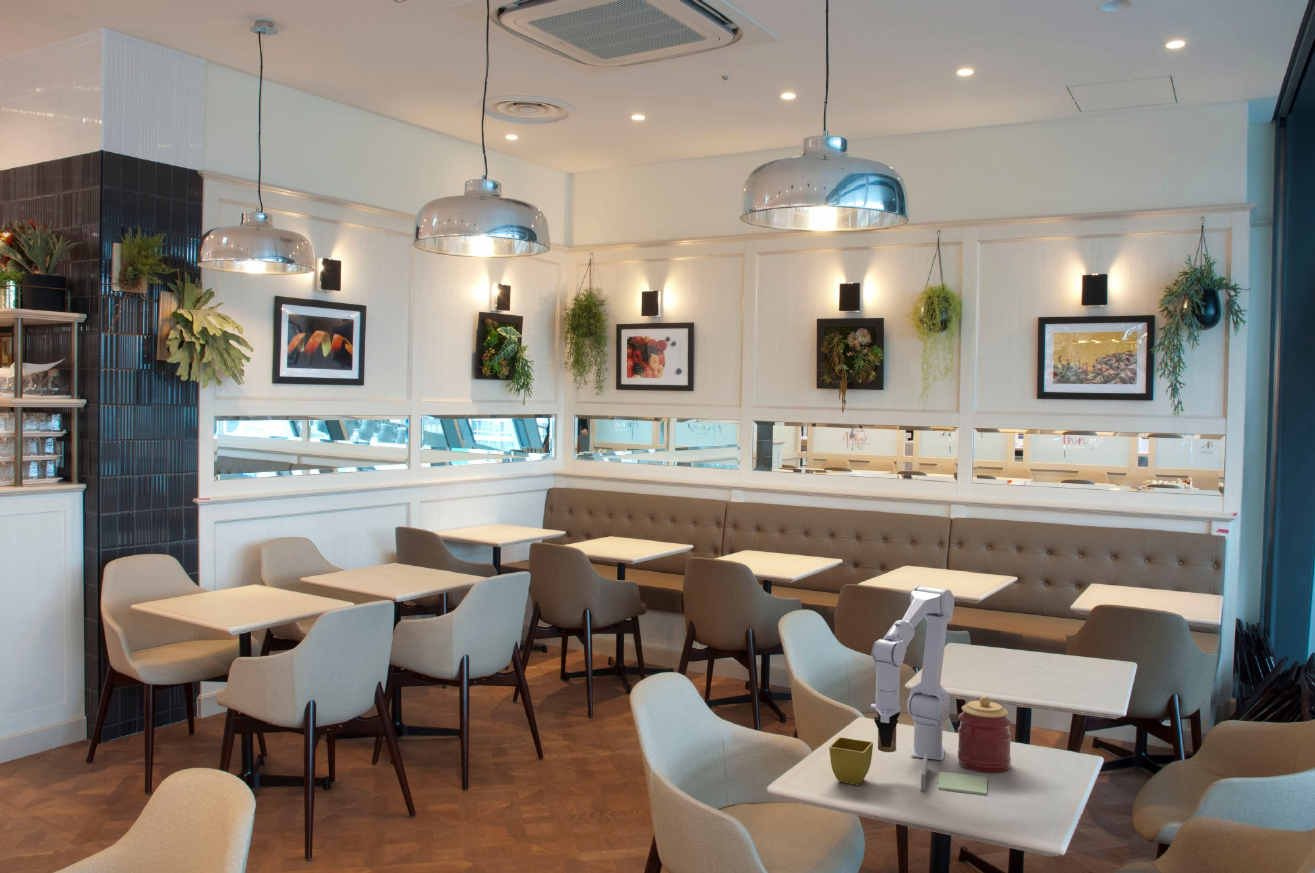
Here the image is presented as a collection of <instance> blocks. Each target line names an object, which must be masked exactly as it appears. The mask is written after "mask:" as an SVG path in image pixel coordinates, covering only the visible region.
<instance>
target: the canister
mask: <svg viewBox="0 0 1315 873" xmlns="http://www.w3.org/2000/svg"><path fill="white" fill-rule="evenodd" d="M961 710H962V712H961V713H959V714H958V715H957V716H958V717H957V719H958V720H959V721H960V723H959V727H958V728H957V731H958V749H957V758H958V763H959V764H960V765H961V766H963V767H964V768H966V769H969V770H972V771H976V772H980V773H989V774H994V773H996V774H997V773H1003V772H1007V771H1008V770H1010V767H1011V764H1012V762H1011V761H1012V757H1011V738H1012V733H1011V731H1010V726H1011V724H1012V720H1011V719H1010V717H1008V714H1009V711H1008V710H1007V709H1006V708H1004V707H1003V706H1002V705H1001V704H999V703H996V702H993V701H991V699H990V698H989V697H988V696H987V695H982V696H980V698H979V700H971V701H969V702H967V703H966V704H964V705H962V706H961Z"/></svg>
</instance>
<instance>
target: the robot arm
mask: <svg viewBox="0 0 1315 873" xmlns="http://www.w3.org/2000/svg"><path fill="white" fill-rule="evenodd" d="M954 608H955V597H954V594H953V593H952V591H951V589H948V588H947V589H943V588H937V587H929V586H928V587H927V586H923V585H922V586H921V585H915V586H914V587H913V589H912V590H911V592H910V604H909V607H908V608H907V610H906V612H905V613H904V615H903V617H902V619H899V620H896V621H894V623H893V624H892V626H891V627H890V628H889V630H888V631H887V633H886V634H885V635H884V636H883V638H879V639H878V640H875V642H874V643H873V645H872V649H871V654H870V655H871V657H872V658H871V659H872V661H873V668H874V670H875V703H871V704H870V709H872V710H875V711H876V714H877V716H874V718H873V721H874V723H875V725H876V727H877V732H878V731H879V735H880V741H881V745H882V747H891V743H892V738H893V732H894V729H895V727H896V728H897V726H898V723H899V720H898V719H899V717H900V715H901V707H900V695H901V694H900V684H901V683H900V682H901V681H900V680H901V676H900V674H901V668H900V667H901V664H903V662H904V660H905V657H906V653H907V647H908V646H909V644H910V642H911V641H912V640H913V638H914V637H915V635H916V631H915V627H917V625H918V624H919V623H920V622H922V620H923V619H925V621H926V624H927V625H926V626H927V627H926V635H925V641H924V642H925V643H924V651H923V660H922V668H921V676H920V682H919V683H917V684H915V685H914V686H912V687H911V688H910V694H909V697H908V699H907V702H906V707H907V708H906V709H907V712H908V714H909V716H911V720H913V721H914V724H913V726H914V727H913V729H914V730H913V745H912V751H911V757H912V758H917V759H918V758H919V759H920V758H921V759H924V753H928V759H929V760H935V761H936V760H937V761H943V760H944V756H945V747H943V726H944V723H946V721H948V719H949V718H950V713H951V704H950V698H951V697H950V693H949V692H948V691H947V690H946V689H945V688H944V687H943V686H942V684H941V681H942V680H941V679H942V672H943V664H944V655H945V646H946V637H947V629H948V622H952V621H953V617H954Z"/></svg>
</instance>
